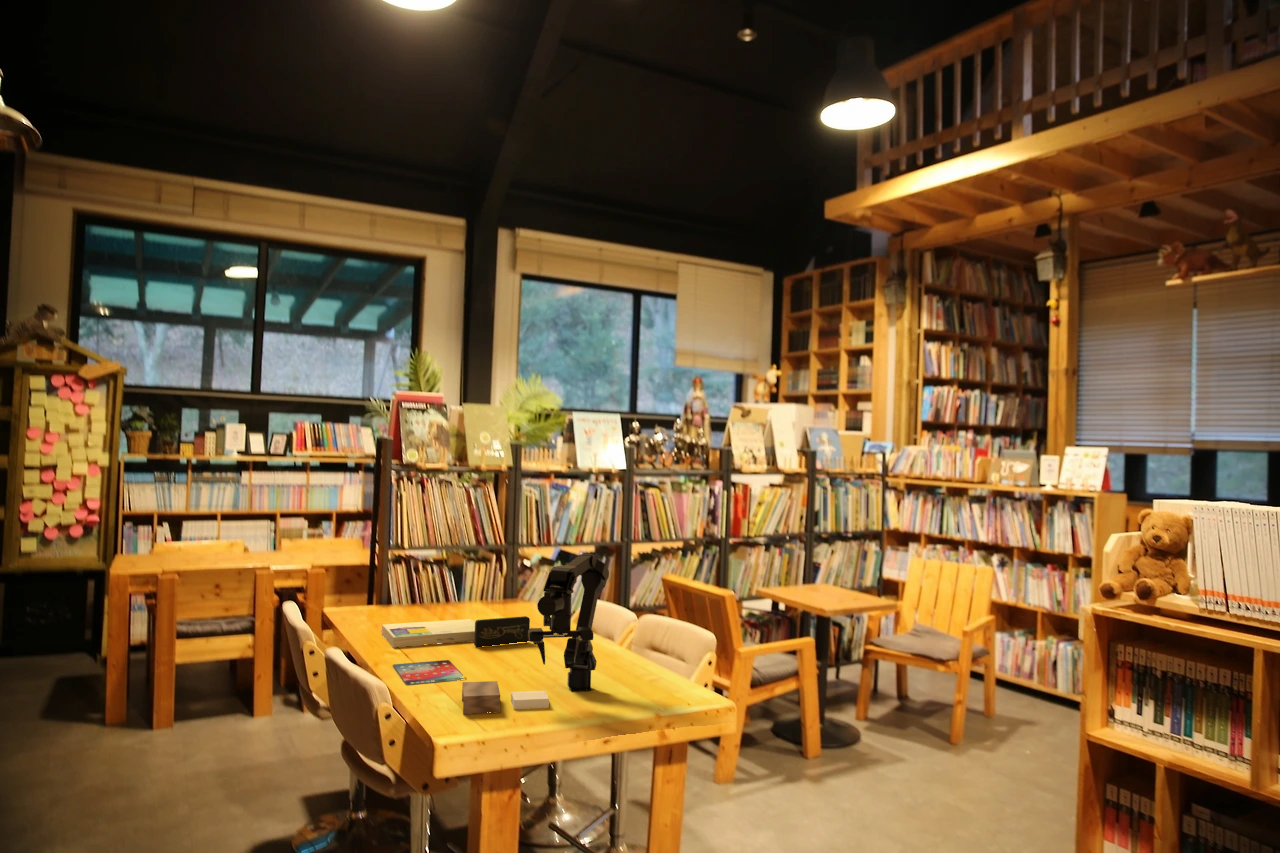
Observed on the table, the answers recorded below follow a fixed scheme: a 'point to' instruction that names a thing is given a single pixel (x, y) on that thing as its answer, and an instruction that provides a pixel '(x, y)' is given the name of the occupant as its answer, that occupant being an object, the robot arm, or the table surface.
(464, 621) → the puzzle box
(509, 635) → the nameplate
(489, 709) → the wood grain block
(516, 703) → the beige block
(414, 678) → the tablet
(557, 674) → the table surface
